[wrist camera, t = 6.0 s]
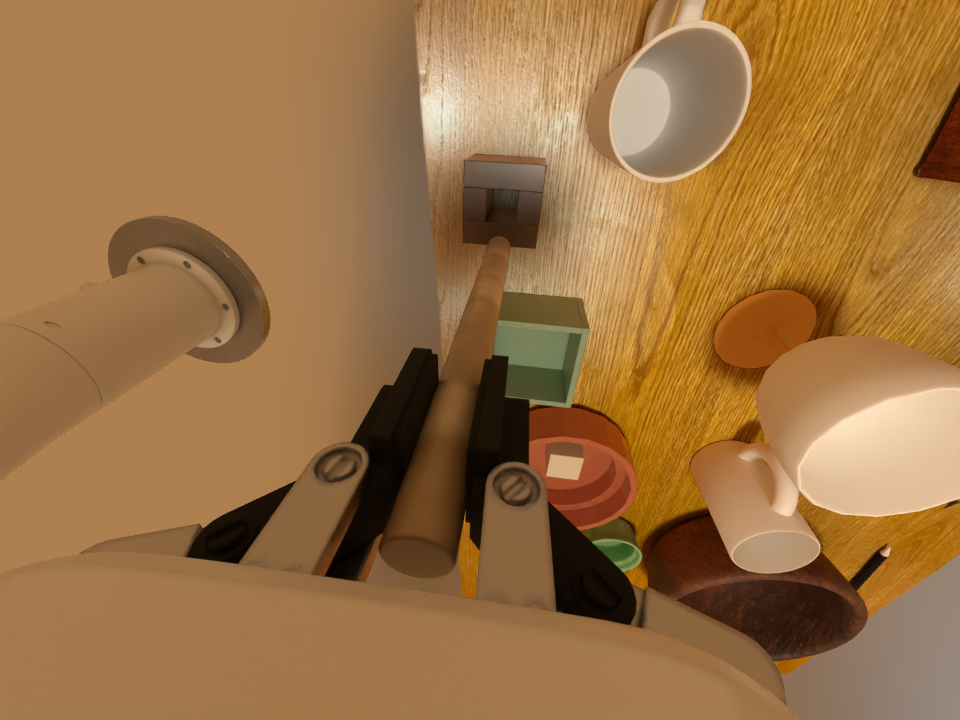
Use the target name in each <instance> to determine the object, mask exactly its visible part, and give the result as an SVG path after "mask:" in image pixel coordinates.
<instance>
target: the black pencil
mask: <svg viewBox="0 0 960 720" xmlns="http://www.w3.org/2000/svg"><path fill="white" fill-rule="evenodd" d="M890 549H891V547H888V548H886V549H884V550H882V551H880V552H879V553H878V554H877V555H876V556H875V557H874V559H873V560H872V561H871V562H870V563H869V564H868V565H867V566H866V568H865V569H864V570H863V571H862V572H861V573H860V574H859V575H858V577H857V578H856V579H855V580H854V581H853V582H852V583H851V585H852V587H853V588H854V589H855V590H856V591H857V590H858V589H859V588H860V586H861V585H862V584H863V583H864V582H865V581H866V580H867V579H868V578H869V577H870V576H871V575H872V573H873V572H874V571H875V570H876V569H877V568H878V567H879V566H880V565H881V564H882V563H883V562H884V561H885V559H886V558H887V557H888V556H889V552H890Z"/></svg>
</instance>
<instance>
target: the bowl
mask: <svg viewBox="0 0 960 720" xmlns="http://www.w3.org/2000/svg"><path fill="white" fill-rule="evenodd" d="M554 442H570V443H578V444H582V447H583V453H584V461H583V465H582V468H581V471H580V475H579V478H578V480H572V479H565V478H557V477H549V476H546V465H545V451H546V446H547V443H554ZM529 466H531V467H533V468H534V469H536V470H537V471H538V472H539V473H540V474H541V476H542V477H543V479H544V480H545V484H546V487H547V498H548V501H549V502H550V503H551V504H552V505H553V506H554V507H555V508H556V509H557V510H559V511H560V512H561V513H562V514H563V515H564V516H565V517H566V518H567V519H568V520H569V521H570V522H571V523H572V524H573V525H574V526H575V527H576V528H577V529H579V530H585V529H590V528H594V527H598V526H601V525H604V524H606V523H608V522H610V521H612V520H614V519H616V518H618V517H620V516H621V515H622V514H623V513H624V512H625V511H626V510H627V509H628V508H629V507H630V506H631V505H632V503H633V501H634V499H635V496H636V494H637V492H638V486H637V475H636V471H635V468H634V464H633V461H632V458H631V454H630V451H629V447H628V444H627V442H626V440H625V438H624V437H623V435H622V433H621V432H620V430H619V429H618V428H617V427H616V426H615V425H613V424H612V423H611V422H609V421H608V420H607V419H606V418H604V417H602V416H600V415H597V414H595V413H592V412H589V411H587V410H584V409H579V408H565V407H550V408H541V409H536V410H533V411H531V412H529Z"/></svg>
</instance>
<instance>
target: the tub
mask: <svg viewBox="0 0 960 720" xmlns="http://www.w3.org/2000/svg"><path fill="white" fill-rule="evenodd" d="M589 330H590V329H589V325H588V321H587V317H586V314H585V310H584V306H583V302H582V299H575V298H564V297H553V296H543V295H532V294H521V293H510V292H503V295H502V301H501V306H500V312H499V318H498V324H497V330H496V335H495V341H494V347H493V353H492V355H499V356H509V361H508V372H507V382H506V393H505V397H511V398H521V399H529V402H530V404H539V405H547V406H556V407H565V408H571V405H572V400H573V396H574V392H575V388H576V384H577V380H578V376H579V372H580V367H581V363H582V359H583V355H584V351H585V347H586V343H587V339H588V335H589Z"/></svg>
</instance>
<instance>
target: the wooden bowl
mask: <svg viewBox="0 0 960 720" xmlns="http://www.w3.org/2000/svg"><path fill="white" fill-rule="evenodd" d="M648 587H649V588H651V589H653V590H655V591H658V592H660V593H662V594H664V595H666V596H668V597H670V598H672V599H674V600H676V601H678V602H680V603H682V604H684V605H686V606H689V607H691V608H693V609H695V610H697V611H699V612H701V613H703V614H705V615H707V616H709V617H711V618H713V619H715V620H717V621H720V622H722V623H724V624H726V625H728V626H730V627H732V628H734V629H736V630H738V631H740V632H742V633H744V634H745V635H747V636H748V637H750V638H751V639H753V640H754V641H756V642H757V643H758V644H759V645H760V646H761V647H762V648H763V649H764V650H765V651H766V652H767V653H768V654H769V656H770V657H771V659H772V660H773V661H782V660H791V659H797V658H803V657H808V656H812V655H816V654H819V653H823V652H826V651H829V650H831V649H834V648H836V647H838V646H841V645H842V644H845V643H846V642H848V641H850V640H851V639H853V638H854V637H855V636H856V635H857V634H858V633H859V632H860V631H861V630H862V629H863V627H864V626H865V624H866V622H867V618H868V611H867V608H866V606H865V603H864V601H863V600H862V598H861V597H860V595H859V594H858V593H857V591H856V590H855V589H854V588H853V587H852V585H851V584H850V583H849V582H848V581H847V580H846V578H845V577H844V576H843V575H842V574H841V573H840V571H839V570H838V569H837V568H836V567H835V566H834V565H833V564H832V563H831V562H830V560H829V559H828V558H827V557H826V556H825V555H824V554H823V553H822V552H821V551H820V552H819V555H818V556H817V557H816V558H815V559H814V560H813V561H812V562H810V563H809V564H807V565H805V566H803V567H801V568H798V569H795V570H791V571H787V572H781V573H756V572H751V571H748V570H745V569H742V568H741V567H739V566H737V565H736V564H735V563H734V562H733V561H732V560H731V558H730V556H729V554H728V551H727V549H726V547H725V545H724V542H723V540H722V538H721V536H720V534H719V531H718V529H717V527H716V525H715V523H714V520H713V518H712V516H711V515H709V516H704V517H700V518H696V519H693V520H690V521H687V522H684V523H682V524H680V525H678V526H676V527H674V528H672V529H671V530H669V531H668V532H667V533H665V534H664V535H663V536H662V537H661V538H660V539H659V541H658V542H657V543H656V545H655V547H654V549H653V551H652V554H651V557H650V562H649V567H648Z"/></svg>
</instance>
